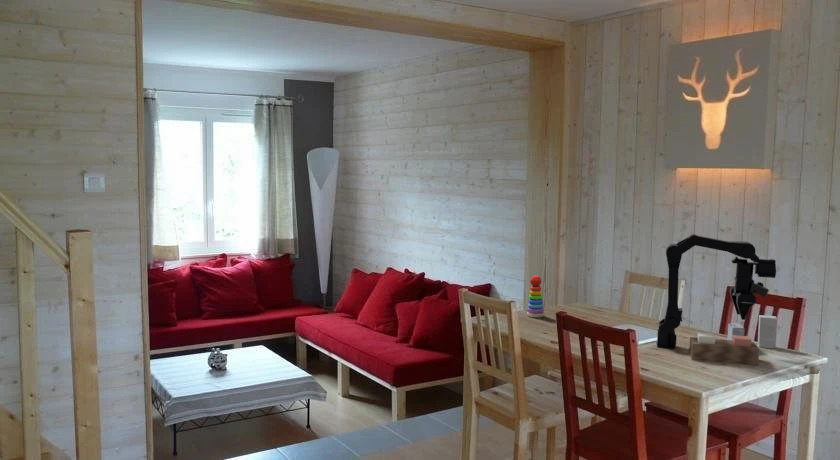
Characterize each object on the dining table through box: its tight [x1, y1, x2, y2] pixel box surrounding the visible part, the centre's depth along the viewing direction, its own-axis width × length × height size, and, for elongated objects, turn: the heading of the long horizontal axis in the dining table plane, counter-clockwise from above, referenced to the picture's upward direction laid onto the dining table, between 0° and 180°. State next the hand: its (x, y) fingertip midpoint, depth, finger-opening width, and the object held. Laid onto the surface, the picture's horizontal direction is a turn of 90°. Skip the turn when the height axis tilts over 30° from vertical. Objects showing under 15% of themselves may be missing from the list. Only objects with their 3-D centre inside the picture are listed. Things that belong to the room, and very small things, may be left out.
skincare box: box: [757, 314, 778, 349], centre depth 275 cm, size 6×4×12 cm
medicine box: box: [726, 322, 745, 340], centre depth 273 cm, size 8×4×9 cm, turn 168°
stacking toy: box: [526, 275, 545, 318], centre depth 322 cm, size 8×8×19 cm
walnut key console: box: [688, 336, 760, 366], centre depth 257 cm, size 22×10×6 cm, turn 75°
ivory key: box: [696, 332, 716, 344], centre depth 258 cm, size 6×6×4 cm
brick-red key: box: [732, 335, 753, 347], centre depth 255 cm, size 6×6×4 cm
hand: (740, 316), depth 264 cm, fingers open, 9 cm apart
